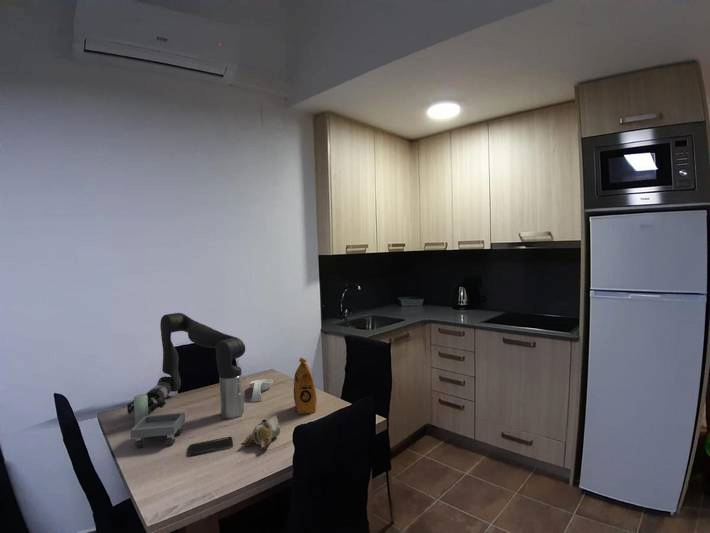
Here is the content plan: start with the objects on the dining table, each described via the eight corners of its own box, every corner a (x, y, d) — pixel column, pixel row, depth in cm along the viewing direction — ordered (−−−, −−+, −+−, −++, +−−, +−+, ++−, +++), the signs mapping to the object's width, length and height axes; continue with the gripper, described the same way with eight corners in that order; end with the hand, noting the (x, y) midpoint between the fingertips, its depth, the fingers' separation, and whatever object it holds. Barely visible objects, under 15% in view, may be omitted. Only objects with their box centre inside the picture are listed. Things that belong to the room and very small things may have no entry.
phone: (189, 444, 136) (232, 436, 141) (189, 447, 136) (232, 439, 141) (187, 455, 129) (233, 445, 134) (187, 458, 129) (233, 448, 134)
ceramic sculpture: (286, 413, 141) (261, 433, 128) (288, 435, 142) (263, 457, 129) (264, 409, 146) (237, 428, 132) (266, 430, 147) (239, 451, 133)
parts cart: (185, 431, 148) (184, 412, 148) (174, 446, 136) (173, 426, 136) (145, 434, 146) (144, 416, 146) (131, 450, 134) (130, 430, 134)
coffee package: (294, 416, 159) (292, 365, 158) (293, 404, 171) (292, 357, 171) (317, 413, 161) (316, 363, 160) (315, 402, 173) (313, 355, 172)
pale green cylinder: (150, 421, 158) (149, 393, 158) (145, 426, 153) (144, 398, 153) (138, 422, 158) (137, 394, 157) (132, 428, 153) (131, 399, 152)
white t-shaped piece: (251, 386, 199) (251, 372, 199) (273, 384, 201) (273, 371, 200) (244, 403, 176) (244, 388, 175) (270, 401, 177) (269, 386, 177)
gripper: (138, 389, 169) (121, 403, 153) (171, 386, 171) (157, 400, 155) (139, 405, 169) (122, 421, 153) (172, 402, 171) (158, 418, 155)
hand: (139, 410), depth 154 cm, fingers open, 8 cm apart
